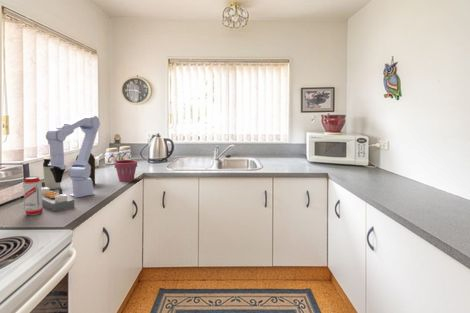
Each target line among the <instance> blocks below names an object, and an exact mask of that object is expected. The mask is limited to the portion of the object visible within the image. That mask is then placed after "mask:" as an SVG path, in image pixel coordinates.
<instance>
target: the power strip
mask: <svg viewBox="0 0 470 313" xmlns="http://www.w3.org/2000/svg"><path fill="white" fill-rule="evenodd" d="M50 192H54V193H57V194H59V192H55V191H53V190H50ZM60 195H61V194H60ZM42 206H43V208H46V209H48V210H49V211H52V212H54V213H55V212H59V211H63V210H68V209H72V208H76V207H75V206H76V205H75V199H73V198H71V197H68V196H67V201H63V202H56V201H55V198H50V197H47V195H45V196H44V194H42Z"/></svg>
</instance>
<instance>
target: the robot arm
mask: <svg viewBox="0 0 470 313" xmlns="http://www.w3.org/2000/svg"><path fill="white" fill-rule="evenodd" d="M100 124H101V122H100V119H99V117H98V116H97V115H79V116H76V119H74V120H73V121H71V122H70V123H69V122H62V124H61V125H60V126H56V127H55V128H53V129H49V130H47V132H46V133H45V138H46V140H47V144H48V145H49V146H48V147H49V157H50V162H49V164H48V166H53V168H50V170H51V172H52V174H53V176H54V179H55V182H56V183H59V182H60V183H62V181H63V176H64V173H65V171H66V170H67V176H68V177H69V178H70V180H71V187H72V193H70V194H69V196H71V197H74V198H81V197H86V196H92V195H95V193H94V185H93V182H92V179H91V178H89V176H90V173H91V171H90V170H91V166H90V165H89V164H88V160H89V157H90V153H91V154H92V151H93V147H94V144H95V140H96V137H97V133H98V132H99V131H98V130H99V127H100ZM78 128H80V130H81V131H82V132H83V133H84V138H83V140H82V144H81V147H80V150H79V153H78V154H79V155H77V156H78V158H77V160H76V159H75V161H73V162H71V165H70V166H69V168H68V169H67V164H66V163H65V152H64V151H65V150H64V142H65V140H66V139H67V137H68V136H70V135H72V134H73V133H74V131H75V130H76V129H78Z"/></svg>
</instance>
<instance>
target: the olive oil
mask: <svg viewBox="0 0 470 313" xmlns="http://www.w3.org/2000/svg"><path fill="white" fill-rule="evenodd" d="M78 155H79V153H78ZM78 155H77V156H76V158H75V161H76V160H77V158H78ZM88 164H89V165H90V166H91V170H90V171H91V173H90V176H89V178H91V179H92V182H93V186H94V185H96V158H95V156H94V155H93V154H92V152H91V153H90V157H89V160H88Z"/></svg>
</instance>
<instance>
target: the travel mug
mask: <svg viewBox="0 0 470 313" xmlns="http://www.w3.org/2000/svg"><path fill="white" fill-rule="evenodd" d="M49 162H50V156H46V157H43V163H42V165H43V166H42V167H43V180H44V181H43V182H45V187H47V188H50V190H56V189H60V188H61V182H59V183H56V182H55V179H54V176H53V174H52V172H51V170H50V168H53V166H48V164H49ZM45 187H44V188H45Z"/></svg>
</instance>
